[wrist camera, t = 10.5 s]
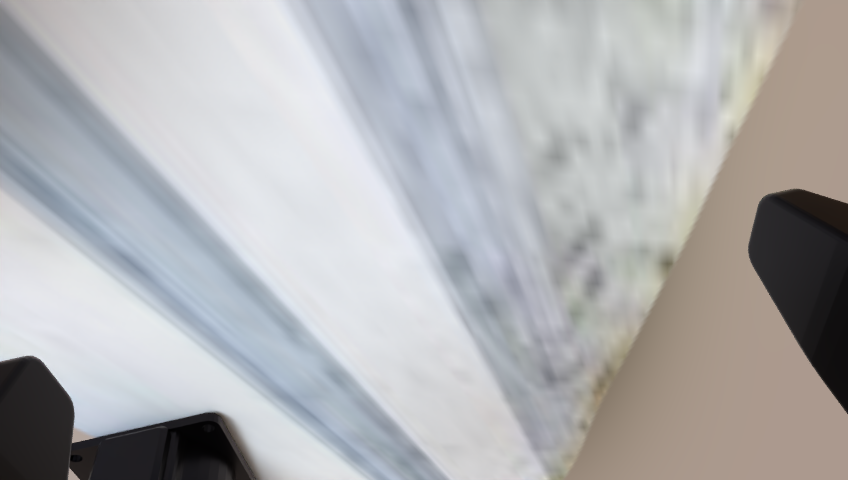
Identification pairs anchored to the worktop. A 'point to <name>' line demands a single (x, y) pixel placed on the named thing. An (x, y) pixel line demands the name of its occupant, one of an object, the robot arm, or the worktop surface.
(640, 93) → the worktop surface
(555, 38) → the worktop surface
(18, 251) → the worktop surface
